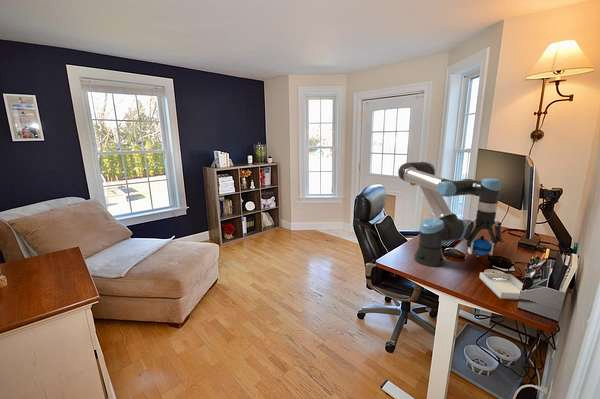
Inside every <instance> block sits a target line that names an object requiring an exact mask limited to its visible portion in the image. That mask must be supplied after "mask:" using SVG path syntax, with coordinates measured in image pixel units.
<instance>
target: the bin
mask: <svg viewBox="0 0 600 399" xmlns="http://www.w3.org/2000/svg"><path fill="white" fill-rule="evenodd" d="M478 278H479V280H480V281H482V283H484V285H486V286H487V287H488V288H489V289H490V290H491V291H492V292H493V293H494V294H495V295H496V296H497V297H498V298H499V299H500V300H513V301H514V300H515V301H516V300H517V301H519V300H518V299H519V296H520V291H521V288H522V285H523V284H524V283H523V282H521V280H519V279H518V278H517V277H516V276H514V275H513V274H511V273H502V272H501V273H496V272H479V277H478ZM493 278H503V279H507V280H496V279H493Z"/></svg>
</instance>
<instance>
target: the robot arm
mask: <svg viewBox="0 0 600 399" xmlns="http://www.w3.org/2000/svg"><path fill="white" fill-rule="evenodd" d="M397 175H398V177H399V179H401V181H403V182H406V183H414V184H415V185H416V186H418V187H420V189H421V191H422V194H423V195H424V197H425V199H426V201H427V203H428V205H429V207H430V209H431V211H432V213H433V214H434V217H435V218H427V219H426V218H425V219H423V220H422V221H421V222H420V224H419V234H418V235H419V237H418V245H417V248H416V249H415V252H414V256H413V259H414V261H415V262H417V263H419V264H421V265H425V266H428V267H440V266H443V265H444V262H445V258H444V254H443V251H442V249H443V248H442V246H443V243H446V242H447V243H448V242H457V241H460V240H466V241H467V243H466V247H467V253H468V254H469V255H472V254H473V250H472V249H473V243H474V242H473V240H475V237H476V236H477V235H479V234H478V233H479V232H481V230H487V231H488V235H489V237H490V240H488V242H489V243H490V244H491V250H490V252H489V253H488V255H490V256H492V255H493V251H494V249H496V244H498V242H499V243H500V242H501V241H502V235H501V233H502V232H501V226H502V222H500V221H495V219H496V215H497V212H496V211H497V209H498V203H499V198H500V192H501V187H502V186H501V185H502V181H501V180H500V179H498V178H492V177H491V178H490V177H485V178H482V179H481V180H477V179H472V178H462V179H460V180H451V179H447V178H445V177H441V176H438V175H436V168H435V166H434V165H433V164H432V163H431V162H428V161H420V162H419V161H417V162H416V161H415V162H405V163H403V164H401V166H399V168H398V171H397ZM468 195H469V196H476V197H479V198H478V204H477V210H476V219H475V220H468V224H467V223H466V221H465V220H463V219H461V218H458V216H457V215H456V214H455V213H454V212H452V211H451V210H450V208H449V206H448V204H447V203H446V202H447V201H446V200H445V198H444V197H448V198H449V197H457V196H468ZM474 226H475V227H474ZM493 226H494V229H493Z"/></svg>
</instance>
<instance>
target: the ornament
mask: <svg viewBox="0 0 600 399" xmlns="http://www.w3.org/2000/svg"><path fill="white" fill-rule="evenodd" d="M472 241H473V242H474V243H473V249H472V253H475V254H476V255H479V256H485V255H487V254H488V253H489V252H490V250H491V244H490V243H489V240H487V239H486V238H485V236H484V235H481V236H480V237H478V238H476V239H475V238H474V239H473V240H472ZM488 255H489V254H488Z"/></svg>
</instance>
